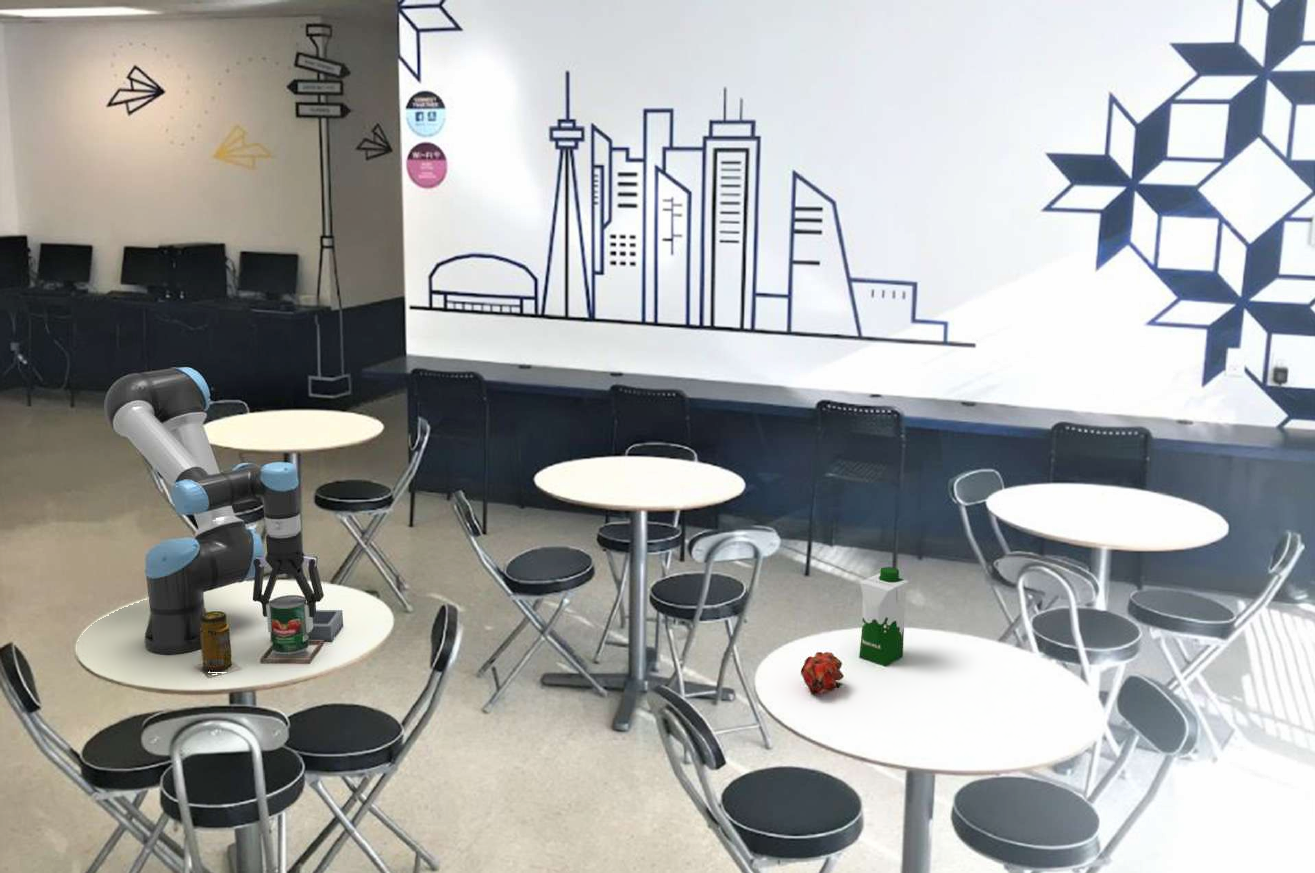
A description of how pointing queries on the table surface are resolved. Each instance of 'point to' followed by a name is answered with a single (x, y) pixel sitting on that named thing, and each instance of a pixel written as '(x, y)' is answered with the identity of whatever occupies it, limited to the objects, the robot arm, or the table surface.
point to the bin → (325, 625)
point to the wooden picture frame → (292, 660)
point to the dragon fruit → (822, 672)
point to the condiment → (215, 644)
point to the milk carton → (883, 617)
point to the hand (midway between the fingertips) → (290, 629)
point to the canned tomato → (288, 624)
